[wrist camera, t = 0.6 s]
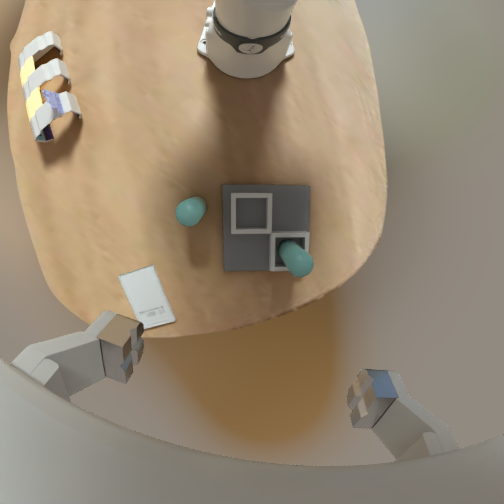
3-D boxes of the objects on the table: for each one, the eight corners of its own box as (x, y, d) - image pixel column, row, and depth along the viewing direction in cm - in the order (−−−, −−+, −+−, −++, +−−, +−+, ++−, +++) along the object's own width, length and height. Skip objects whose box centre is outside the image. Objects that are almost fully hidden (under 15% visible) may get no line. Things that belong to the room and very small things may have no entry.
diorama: (85, 116, 44) (52, 102, 31) (50, 143, 44) (13, 138, 31) (63, 40, 37) (36, 19, 25) (31, 65, 37) (1, 51, 25)
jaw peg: (184, 196, 50) (175, 200, 40) (206, 196, 50) (201, 199, 40) (185, 218, 51) (176, 226, 41) (206, 217, 51) (202, 226, 41)
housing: (222, 184, 50) (221, 185, 39) (308, 185, 51) (329, 187, 40) (224, 269, 54) (223, 291, 43) (305, 267, 55) (323, 287, 44)
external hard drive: (154, 263, 53) (176, 317, 56) (120, 274, 53) (143, 326, 56) (152, 265, 51) (175, 321, 54) (117, 277, 51) (141, 330, 54)
